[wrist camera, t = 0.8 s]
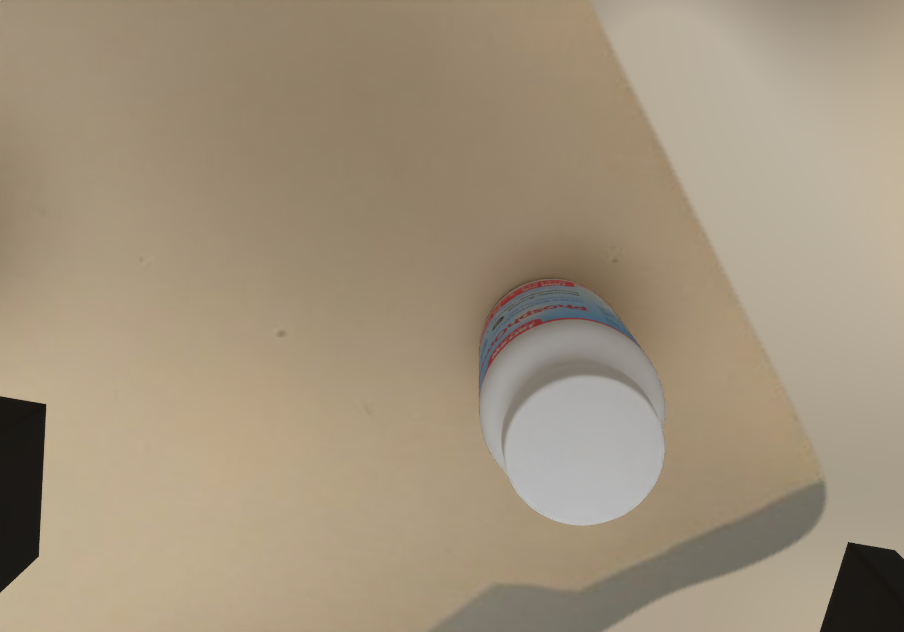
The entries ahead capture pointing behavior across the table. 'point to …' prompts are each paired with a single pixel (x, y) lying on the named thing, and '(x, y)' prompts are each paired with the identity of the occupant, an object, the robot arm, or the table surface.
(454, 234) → the table surface
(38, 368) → the table surface
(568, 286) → the pill bottle
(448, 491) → the table surface
